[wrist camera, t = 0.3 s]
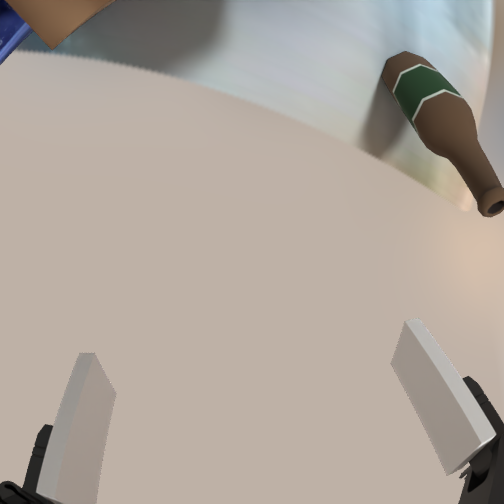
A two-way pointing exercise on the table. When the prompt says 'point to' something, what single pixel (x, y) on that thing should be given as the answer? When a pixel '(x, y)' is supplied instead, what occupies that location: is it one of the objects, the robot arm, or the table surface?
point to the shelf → (56, 16)
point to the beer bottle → (444, 125)
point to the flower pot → (11, 30)
